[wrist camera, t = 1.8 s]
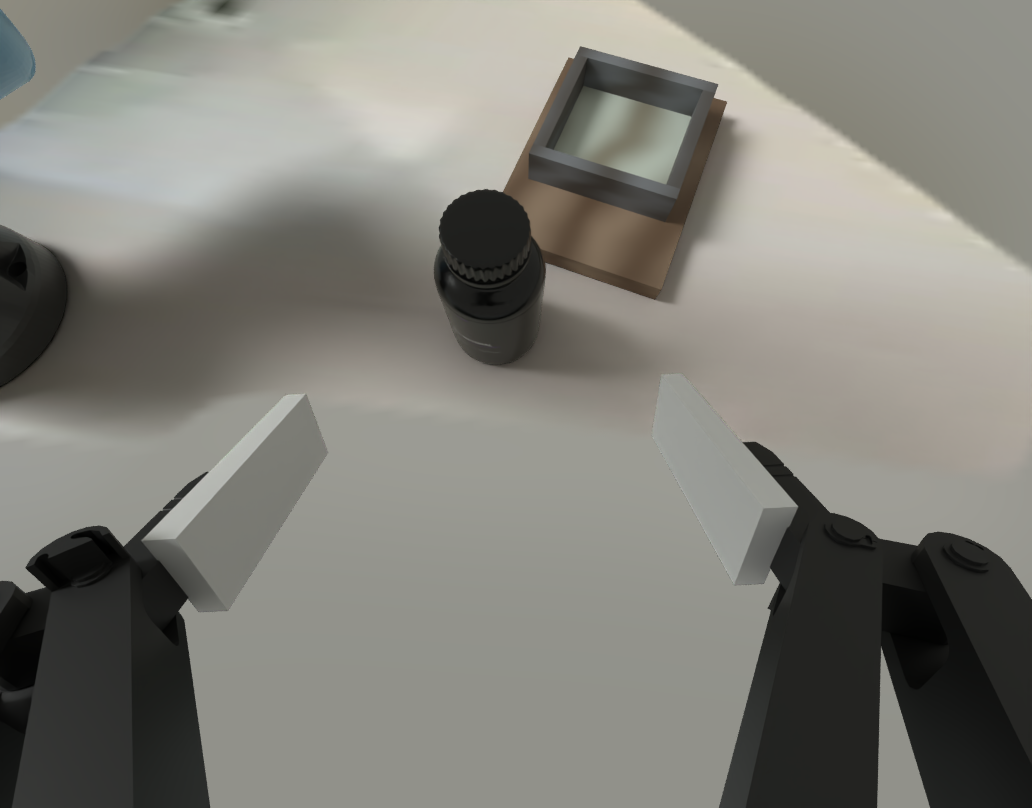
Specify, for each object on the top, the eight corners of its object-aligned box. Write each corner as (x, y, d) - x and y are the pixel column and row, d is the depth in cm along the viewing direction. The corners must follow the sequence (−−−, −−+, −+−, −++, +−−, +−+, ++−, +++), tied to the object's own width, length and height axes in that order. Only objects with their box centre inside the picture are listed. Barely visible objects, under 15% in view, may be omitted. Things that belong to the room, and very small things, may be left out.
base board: (486, 241, 33) (481, 207, 30) (566, 74, 38) (571, 25, 34) (654, 299, 32) (673, 271, 28) (719, 117, 36) (742, 71, 32)
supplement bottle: (459, 373, 31) (420, 294, 19) (451, 295, 32) (410, 179, 21) (546, 361, 31) (559, 276, 19) (533, 284, 32) (539, 163, 21)
